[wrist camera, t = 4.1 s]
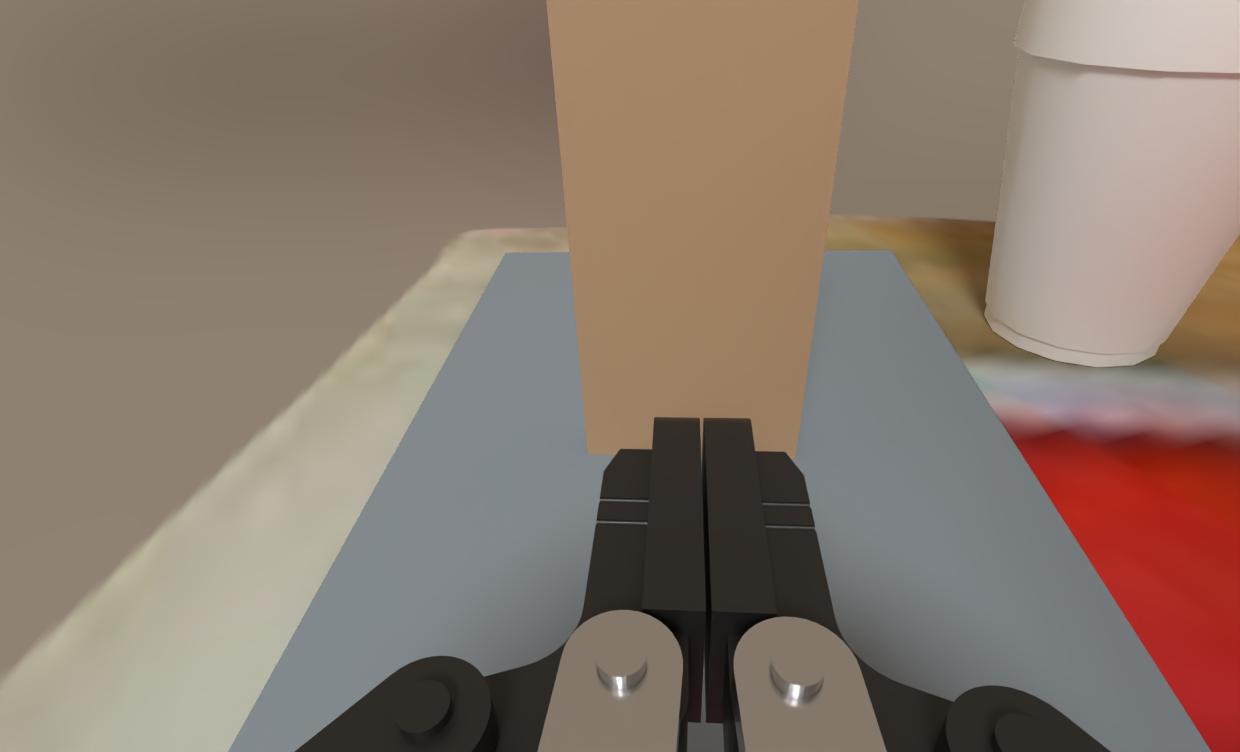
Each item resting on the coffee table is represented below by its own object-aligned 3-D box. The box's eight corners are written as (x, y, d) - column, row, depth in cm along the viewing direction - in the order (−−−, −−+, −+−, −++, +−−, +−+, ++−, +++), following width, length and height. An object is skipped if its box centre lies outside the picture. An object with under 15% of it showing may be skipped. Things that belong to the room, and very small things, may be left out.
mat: (888, 261, 34) (890, 250, 34) (1320, 966, 11) (1340, 953, 11) (507, 263, 36) (505, 252, 36) (182, 870, 13) (169, 856, 12)
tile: (594, 420, 23) (558, -14, 16) (788, 423, 22) (844, -27, 15) (587, 454, 21) (545, -8, 14) (795, 458, 21) (861, -21, 14)
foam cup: (1177, 295, 30) (1340, -48, 23) (1240, 412, 23) (1505, -30, 16) (947, 267, 33) (1024, -39, 26) (941, 361, 26) (1043, -21, 19)
